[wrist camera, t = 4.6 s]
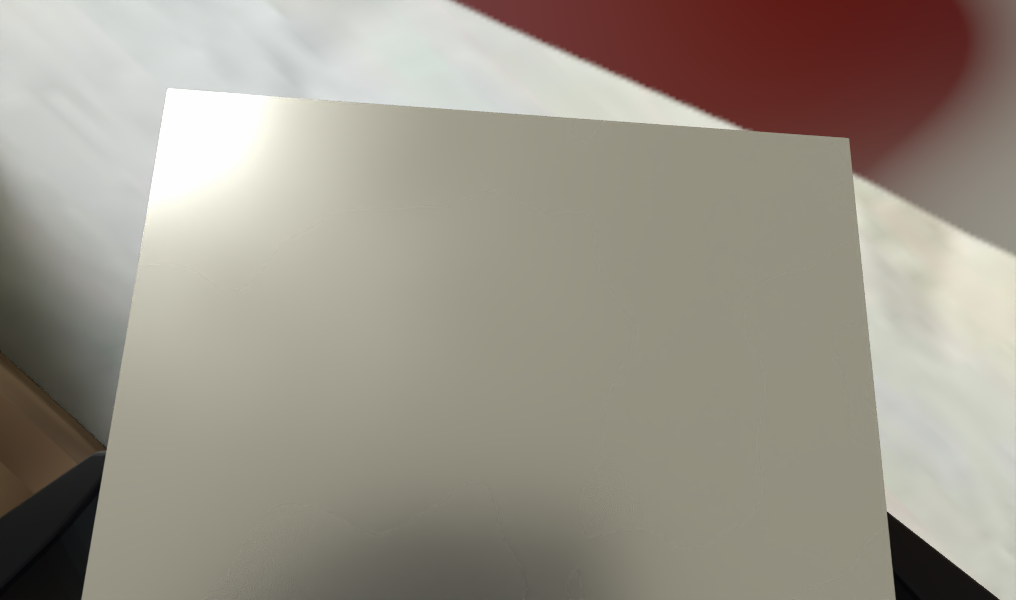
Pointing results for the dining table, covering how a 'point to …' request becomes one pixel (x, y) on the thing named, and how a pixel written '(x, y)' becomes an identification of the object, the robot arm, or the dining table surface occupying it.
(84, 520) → the robot arm
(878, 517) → the tea tin
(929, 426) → the dining table surface
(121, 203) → the dining table surface
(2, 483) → the walnut tray
